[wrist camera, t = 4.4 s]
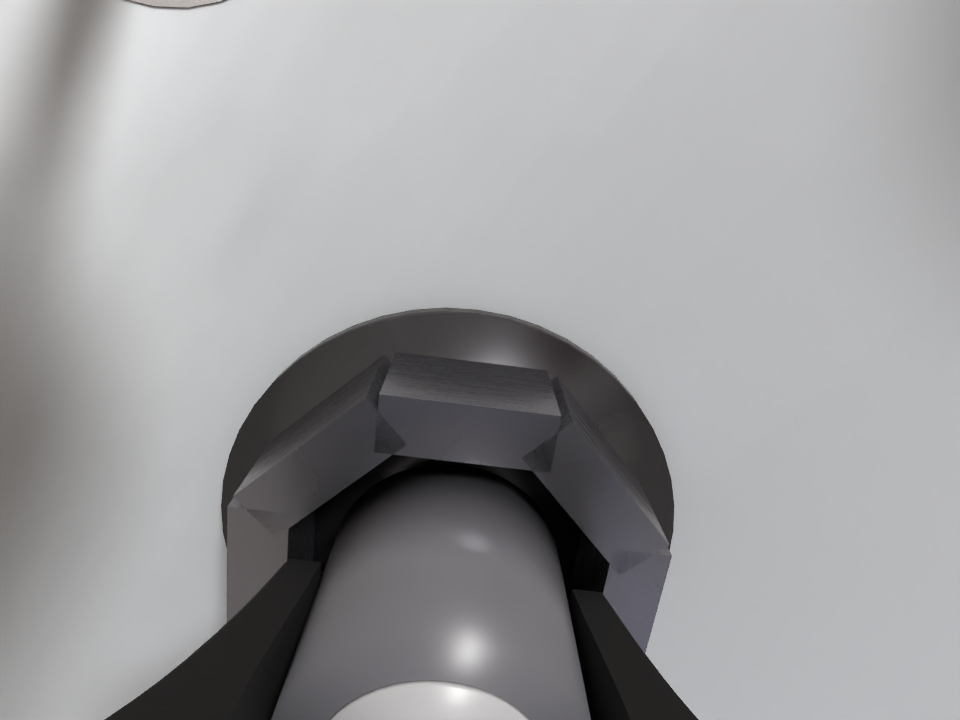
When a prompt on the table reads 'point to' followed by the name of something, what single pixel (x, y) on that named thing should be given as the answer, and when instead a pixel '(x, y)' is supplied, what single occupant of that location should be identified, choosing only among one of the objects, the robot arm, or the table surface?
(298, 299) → the table surface
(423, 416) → the socket
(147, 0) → the champagne flute
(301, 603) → the robot arm
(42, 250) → the table surface
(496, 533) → the cap
